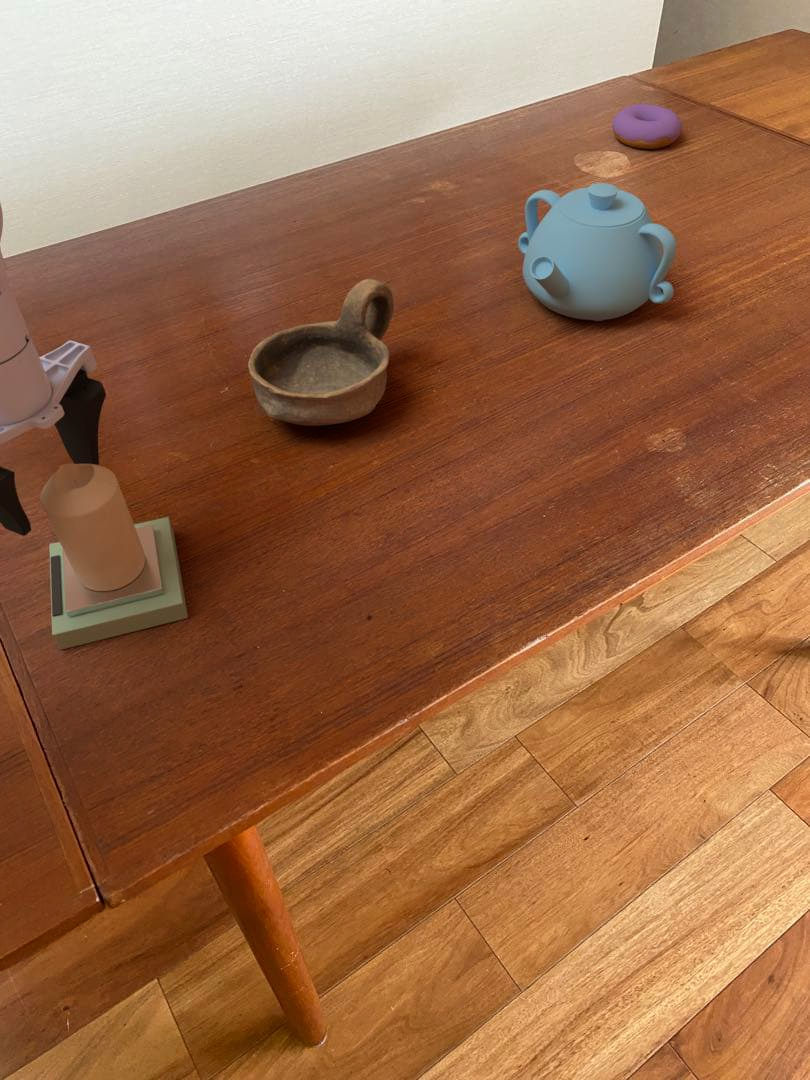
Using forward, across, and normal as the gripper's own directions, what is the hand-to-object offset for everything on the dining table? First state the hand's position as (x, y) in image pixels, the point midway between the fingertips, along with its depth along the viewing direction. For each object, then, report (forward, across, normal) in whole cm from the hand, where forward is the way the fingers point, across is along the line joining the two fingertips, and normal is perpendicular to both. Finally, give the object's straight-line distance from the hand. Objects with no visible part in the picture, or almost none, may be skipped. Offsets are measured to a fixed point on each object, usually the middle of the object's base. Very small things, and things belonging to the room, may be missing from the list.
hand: (53, 495), depth 66 cm
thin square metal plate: (+7, 0, -3) cm, 8 cm away
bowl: (+10, +30, -7) cm, 32 cm away
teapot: (+10, +56, -24) cm, 61 cm away
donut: (+10, +102, -19) cm, 104 cm away
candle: (+7, 0, -3) cm, 8 cm away
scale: (+9, 0, -3) cm, 10 cm away
